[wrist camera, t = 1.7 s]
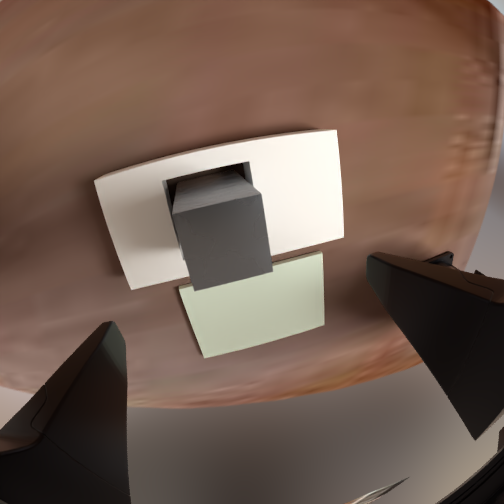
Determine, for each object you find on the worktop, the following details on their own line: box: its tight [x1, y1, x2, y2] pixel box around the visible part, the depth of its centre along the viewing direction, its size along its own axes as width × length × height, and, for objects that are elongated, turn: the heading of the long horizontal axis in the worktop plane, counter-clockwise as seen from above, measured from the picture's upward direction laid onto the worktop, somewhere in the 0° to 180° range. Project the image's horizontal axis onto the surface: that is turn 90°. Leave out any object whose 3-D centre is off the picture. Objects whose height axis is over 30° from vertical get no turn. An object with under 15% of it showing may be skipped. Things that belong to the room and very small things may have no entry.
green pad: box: [179, 251, 324, 358], centre depth 25 cm, size 12×8×1 cm, turn 99°
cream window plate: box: [94, 129, 344, 290], centre depth 19 cm, size 16×8×2 cm, turn 99°
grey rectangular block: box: [172, 170, 273, 292], centre depth 17 cm, size 4×4×8 cm
